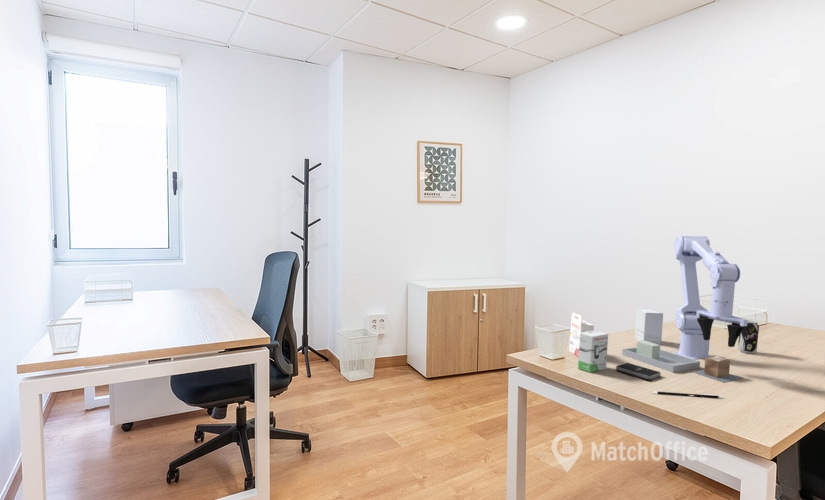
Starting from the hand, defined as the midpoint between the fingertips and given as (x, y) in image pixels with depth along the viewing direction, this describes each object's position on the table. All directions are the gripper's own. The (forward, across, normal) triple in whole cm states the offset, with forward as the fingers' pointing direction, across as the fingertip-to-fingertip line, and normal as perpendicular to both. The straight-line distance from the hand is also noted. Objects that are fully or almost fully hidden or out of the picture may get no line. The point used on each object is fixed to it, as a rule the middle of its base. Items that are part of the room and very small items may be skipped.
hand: (718, 343), depth 142 cm
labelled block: (+9, +2, -3) cm, 10 cm away
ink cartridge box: (+10, -30, -28) cm, 42 cm away
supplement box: (+10, -34, +12) cm, 38 cm away
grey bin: (+10, -14, -8) cm, 19 cm away
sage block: (+10, -18, -8) cm, 22 cm away
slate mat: (+10, +2, -3) cm, 10 cm away
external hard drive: (+10, -8, -26) cm, 29 cm away
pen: (+10, +9, -28) cm, 31 cm away
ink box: (+10, -17, -36) cm, 41 cm away
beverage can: (+10, -11, +37) cm, 40 cm away
